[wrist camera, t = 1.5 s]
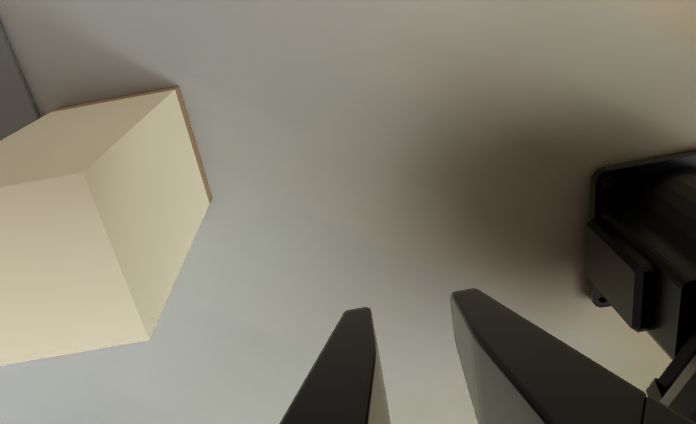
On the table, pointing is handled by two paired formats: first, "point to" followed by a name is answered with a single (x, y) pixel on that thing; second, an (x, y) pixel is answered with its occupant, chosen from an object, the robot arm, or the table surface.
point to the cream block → (95, 223)
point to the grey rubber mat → (13, 93)
